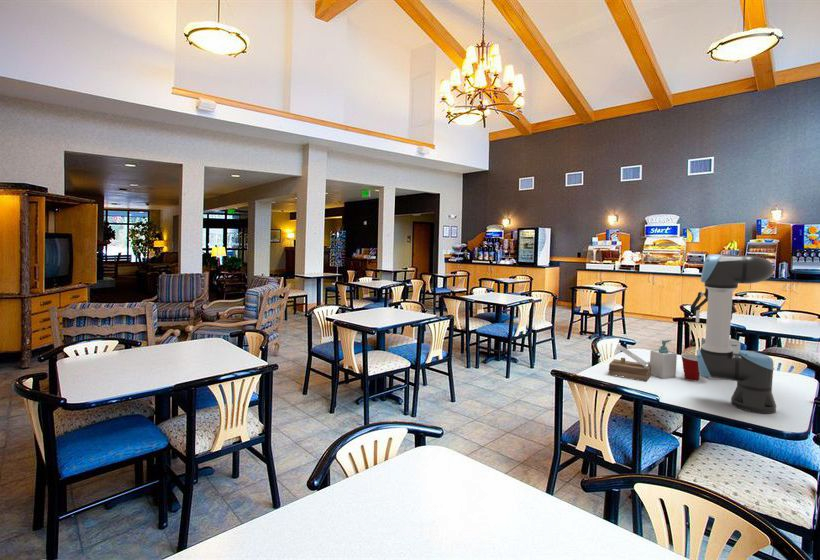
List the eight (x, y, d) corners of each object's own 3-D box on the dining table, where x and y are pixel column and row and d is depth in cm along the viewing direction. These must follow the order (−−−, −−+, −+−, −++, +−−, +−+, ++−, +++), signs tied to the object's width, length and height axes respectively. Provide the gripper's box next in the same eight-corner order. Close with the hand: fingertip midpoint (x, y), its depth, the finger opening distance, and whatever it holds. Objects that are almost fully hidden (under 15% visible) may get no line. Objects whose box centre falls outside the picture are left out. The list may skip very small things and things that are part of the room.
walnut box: (647, 381, 220) (647, 364, 219) (608, 374, 231) (609, 358, 230) (651, 375, 230) (651, 359, 229) (613, 369, 241) (614, 354, 240)
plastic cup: (700, 383, 216) (701, 360, 215) (676, 378, 225) (677, 355, 224) (707, 379, 223) (709, 356, 222) (684, 374, 231) (685, 352, 230)
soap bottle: (676, 377, 227) (677, 341, 226) (662, 378, 225) (664, 342, 223) (662, 372, 235) (664, 337, 234) (649, 373, 233) (650, 338, 231)
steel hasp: (646, 368, 223) (648, 366, 222) (616, 348, 231) (618, 346, 230) (648, 365, 227) (649, 363, 227) (619, 346, 235) (620, 344, 235)
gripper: (745, 285, 220) (743, 326, 221) (690, 282, 239) (688, 320, 241) (740, 286, 215) (738, 328, 216) (684, 282, 235) (682, 321, 236)
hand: (712, 324), depth 229 cm, fingers open, 13 cm apart
